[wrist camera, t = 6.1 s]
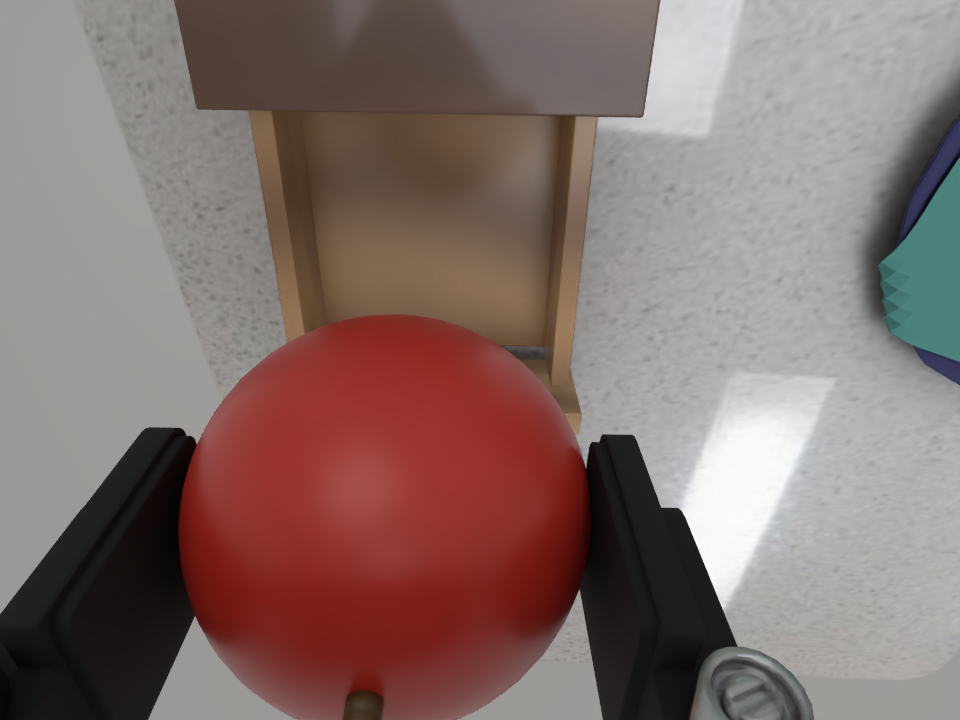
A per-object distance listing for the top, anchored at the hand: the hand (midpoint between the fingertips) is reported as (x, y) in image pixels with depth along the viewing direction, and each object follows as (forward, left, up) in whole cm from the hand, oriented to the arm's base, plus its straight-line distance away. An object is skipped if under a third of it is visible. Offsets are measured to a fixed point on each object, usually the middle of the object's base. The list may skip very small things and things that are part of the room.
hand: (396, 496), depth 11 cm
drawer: (0, -3, -18) cm, 19 cm away
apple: (0, 0, 0) cm, 0 cm away
